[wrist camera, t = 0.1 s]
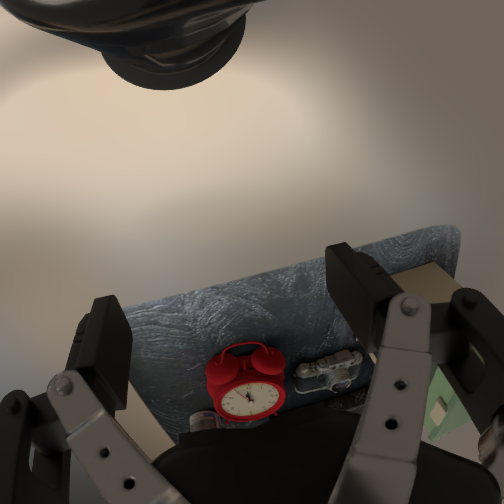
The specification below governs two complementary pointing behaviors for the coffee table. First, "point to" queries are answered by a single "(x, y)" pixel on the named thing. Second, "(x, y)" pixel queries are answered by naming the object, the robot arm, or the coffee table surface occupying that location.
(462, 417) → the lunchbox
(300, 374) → the camera
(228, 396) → the alarm clock
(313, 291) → the coffee table surface
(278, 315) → the coffee table surface
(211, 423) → the pill bottle
